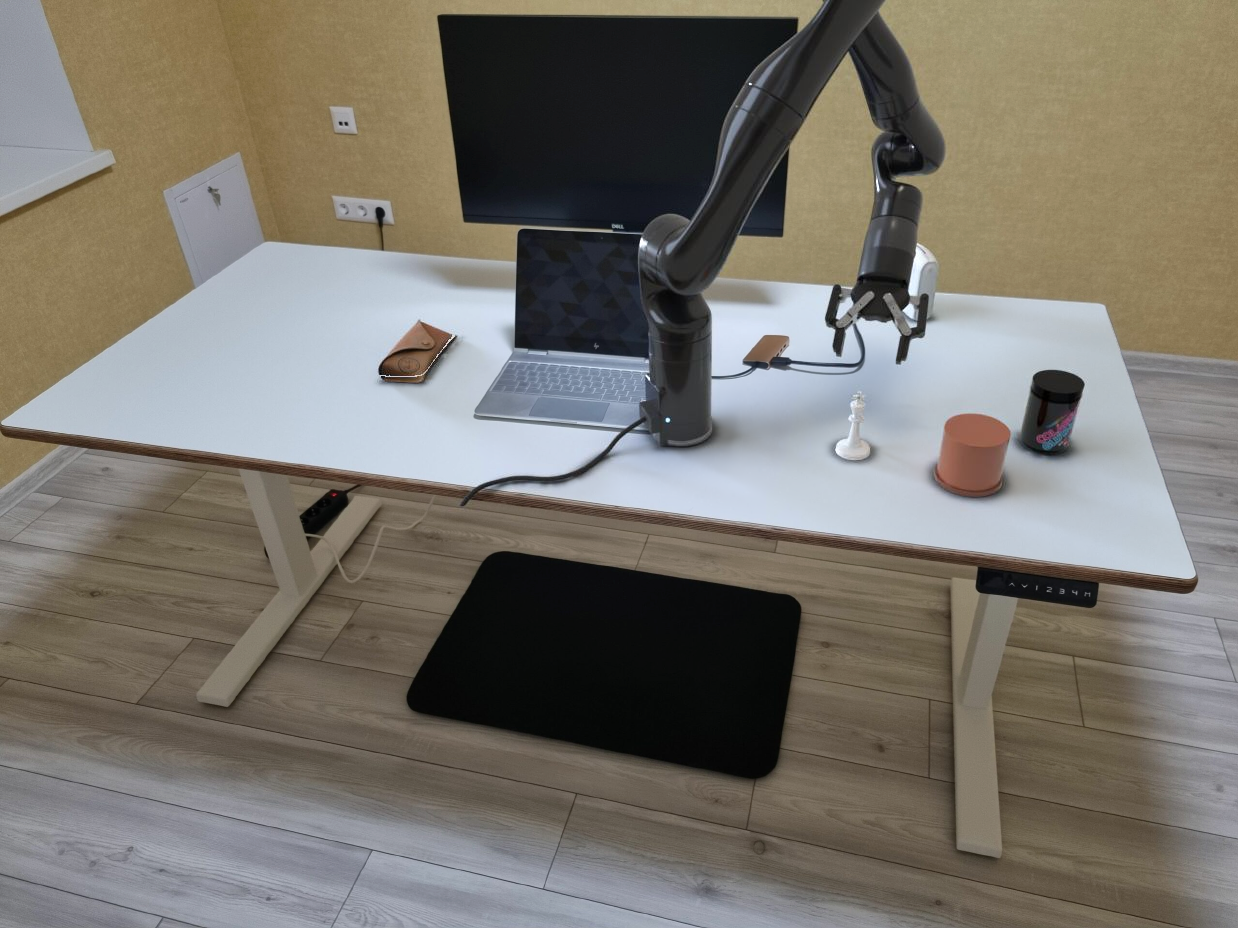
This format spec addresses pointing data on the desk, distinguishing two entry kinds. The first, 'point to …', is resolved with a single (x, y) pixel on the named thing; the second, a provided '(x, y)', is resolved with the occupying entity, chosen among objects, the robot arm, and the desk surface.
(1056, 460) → the desk surface
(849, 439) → the chess piece
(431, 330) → the sunglasses case
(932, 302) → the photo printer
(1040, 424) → the supplement container
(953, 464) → the upturned cup
